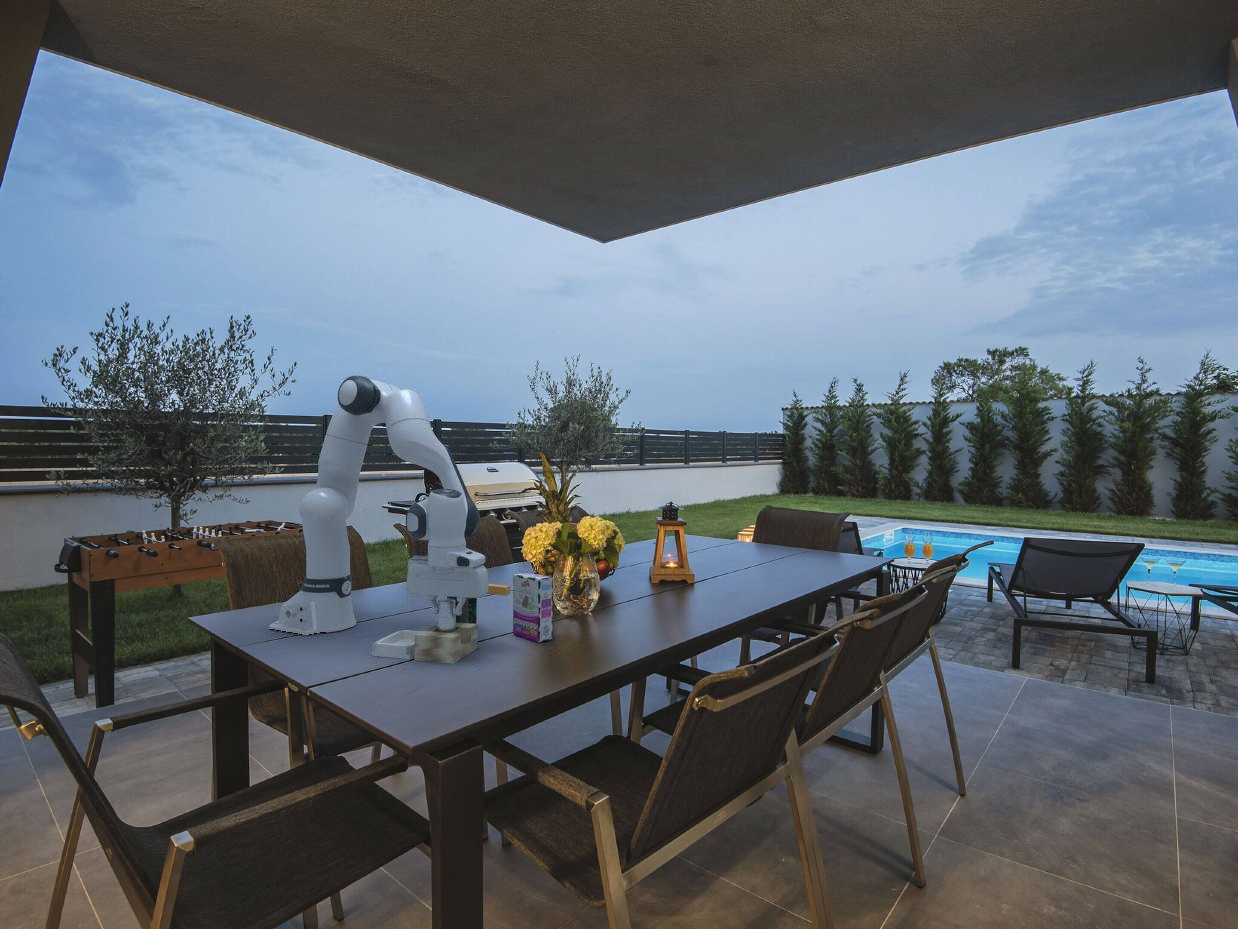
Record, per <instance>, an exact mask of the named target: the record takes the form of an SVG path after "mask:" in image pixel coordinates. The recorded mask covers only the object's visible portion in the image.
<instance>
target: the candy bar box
mask: <svg viewBox="0 0 1238 929" xmlns="http://www.w3.org/2000/svg"><path fill="white" fill-rule="evenodd" d="M512 578H513V579H512V580H513V595H512V596H513V598H512V599H513V603H512V608H513V614H512V615H513V616H512V619H513V621H512V626H513V628H512V634H513V636H516V637H518V638H521V639H526V640H527V641H528V640H529V641H531V642H534V641H535V643H538V644H539V643H540V642H541V643H544V642H543V641H545V642H548V641H547V640H549V641H551V639H552V640H553V639H554V637H553V636H554V635H553V634H554V632H553V631H554V630H553V626H554V624H553V621H554V617H553V614H554V612H553V611H554V608H553V607H554V591H553V590H554V577H553V576H548V575H543V574H538V573H537V574H536V573H532V572H519V573H515V574H513V577H512Z"/></svg>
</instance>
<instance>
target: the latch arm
mask: <svg viewBox="0 0 1238 929" xmlns="http://www.w3.org/2000/svg"><path fill="white" fill-rule="evenodd" d="M488 585H489V589H488V593H487V594H486V595H493V596H495V595H497V596H505V597H506V596H508V595H511V585H505V584H504V585H503V584H494V583H488Z"/></svg>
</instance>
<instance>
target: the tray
mask: <svg viewBox="0 0 1238 929" xmlns="http://www.w3.org/2000/svg"><path fill="white" fill-rule="evenodd" d="M421 631H422V630H412V629H411V630H410V629H400V630H398V631H396V632H393V633H391V634H389V635H387V636H385V637H382V638H381V639H379V640H376V641H374V642H373V643H371V646H372V647H371V649H372V650H371V653H372V654H371V655H372V657H378V656H379V657H380V658H392V659H402V660H411V659H413V658H415V634H417V633H419V632H421ZM379 657H378V658H379Z"/></svg>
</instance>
